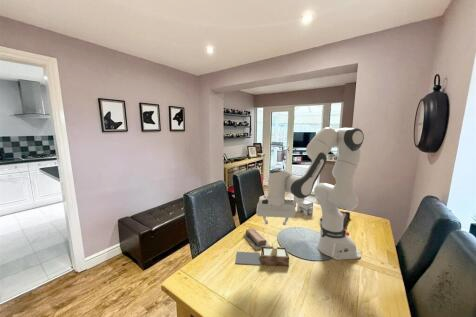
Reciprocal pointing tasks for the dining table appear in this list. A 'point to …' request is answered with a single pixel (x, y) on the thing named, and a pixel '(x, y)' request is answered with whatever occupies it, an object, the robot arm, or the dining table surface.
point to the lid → (274, 251)
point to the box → (274, 257)
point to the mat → (248, 258)
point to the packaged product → (255, 239)
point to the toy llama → (304, 206)
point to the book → (345, 215)
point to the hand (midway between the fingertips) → (275, 224)
